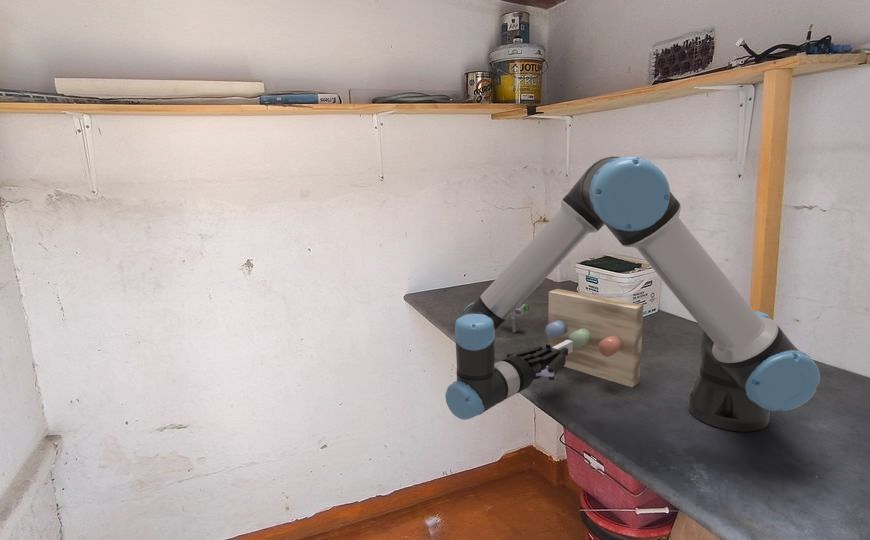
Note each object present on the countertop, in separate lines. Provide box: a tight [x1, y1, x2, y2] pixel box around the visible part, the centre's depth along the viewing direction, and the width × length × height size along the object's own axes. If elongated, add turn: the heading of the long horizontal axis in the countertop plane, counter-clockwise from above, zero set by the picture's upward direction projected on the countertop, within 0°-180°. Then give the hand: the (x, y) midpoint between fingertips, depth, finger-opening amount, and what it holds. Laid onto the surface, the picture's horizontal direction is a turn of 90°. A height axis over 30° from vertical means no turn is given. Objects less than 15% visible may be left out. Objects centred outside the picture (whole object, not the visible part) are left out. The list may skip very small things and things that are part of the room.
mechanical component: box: [510, 303, 530, 333], centre depth 162 cm, size 3×10×10 cm, turn 41°
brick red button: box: [598, 335, 622, 356], centre depth 120 cm, size 4×4×4 cm
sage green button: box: [569, 328, 592, 348], centre depth 125 cm, size 4×4×4 cm
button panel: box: [547, 288, 644, 388], centre depth 129 cm, size 4×24×20 cm, turn 43°
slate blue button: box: [544, 320, 567, 339], centre depth 132 cm, size 4×4×4 cm
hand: (569, 345), depth 122 cm, fingers closed
